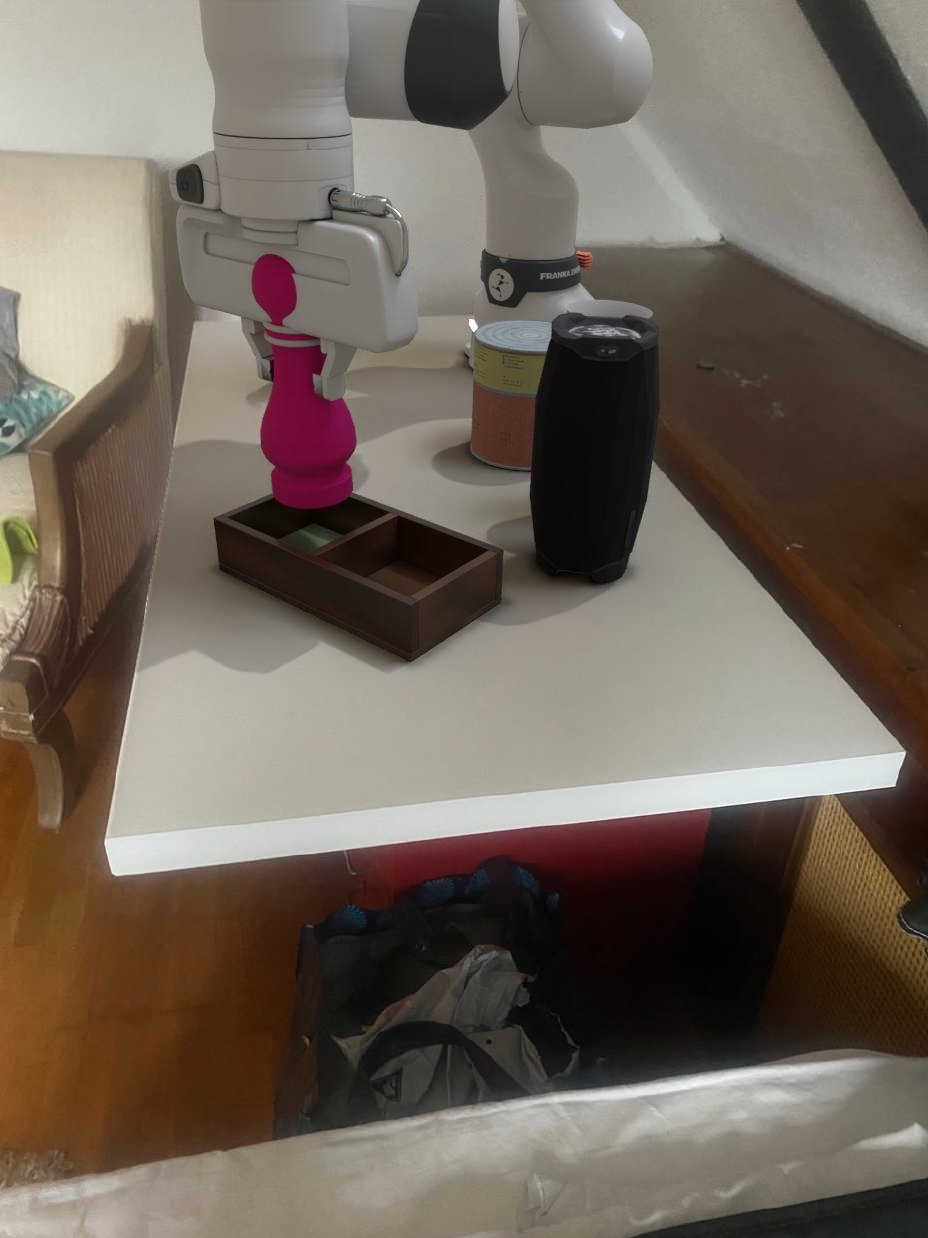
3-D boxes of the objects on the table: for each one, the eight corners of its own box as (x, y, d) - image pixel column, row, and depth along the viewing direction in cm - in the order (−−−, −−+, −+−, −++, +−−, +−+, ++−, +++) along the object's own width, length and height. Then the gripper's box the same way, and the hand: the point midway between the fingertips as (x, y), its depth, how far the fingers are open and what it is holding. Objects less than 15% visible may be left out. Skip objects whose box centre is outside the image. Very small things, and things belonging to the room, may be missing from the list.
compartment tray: (314, 525, 84) (311, 476, 81) (501, 602, 73) (504, 549, 71) (219, 569, 77) (212, 517, 74) (410, 661, 66) (410, 605, 64)
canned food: (569, 476, 94) (580, 355, 88) (459, 463, 96) (461, 344, 90) (584, 436, 104) (594, 324, 97) (483, 425, 106) (486, 315, 99)
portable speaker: (508, 549, 81) (521, 313, 70) (604, 531, 84) (629, 304, 74) (556, 596, 74) (578, 344, 64) (658, 575, 77) (694, 332, 67)
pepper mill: (343, 517, 71) (324, 233, 60) (251, 507, 72) (217, 227, 61) (370, 477, 77) (358, 212, 66) (285, 468, 78) (259, 207, 67)
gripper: (439, 194, 59) (438, 409, 66) (224, 163, 70) (242, 351, 77) (370, 205, 55) (376, 434, 62) (151, 170, 65) (178, 369, 73)
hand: (300, 388), depth 70 cm, fingers closed on pepper mill, 4 cm apart
